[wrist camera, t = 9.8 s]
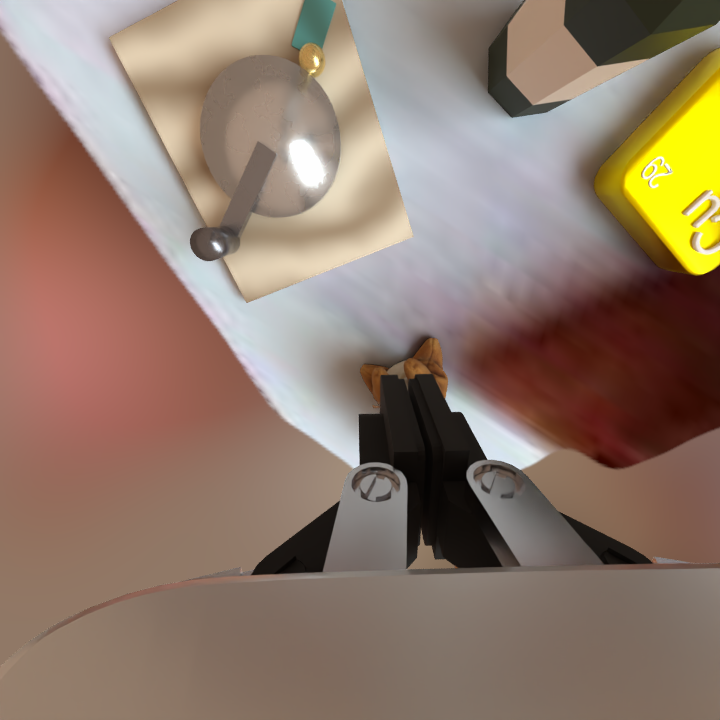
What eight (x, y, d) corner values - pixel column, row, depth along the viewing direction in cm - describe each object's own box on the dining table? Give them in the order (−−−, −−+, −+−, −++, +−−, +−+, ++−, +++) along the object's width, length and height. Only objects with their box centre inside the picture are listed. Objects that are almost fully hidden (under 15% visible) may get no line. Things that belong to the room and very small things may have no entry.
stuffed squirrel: (435, 329, 41) (470, 378, 29) (457, 426, 46) (493, 502, 34) (354, 352, 42) (354, 409, 30) (384, 444, 47) (394, 524, 35)
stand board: (119, 45, 30) (107, 36, 29) (320, -61, 28) (318, -78, 26) (250, 299, 39) (246, 303, 38) (411, 235, 37) (413, 236, 35)
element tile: (797, 159, 35) (861, 151, 30) (664, 277, 39) (703, 285, 35) (721, 36, 31) (782, 7, 27) (582, 183, 35) (615, 178, 31)
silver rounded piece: (255, 1, 28) (227, -59, 22) (379, 99, 31) (385, 70, 24) (169, 216, 34) (129, 217, 28) (279, 282, 37) (264, 296, 30)
